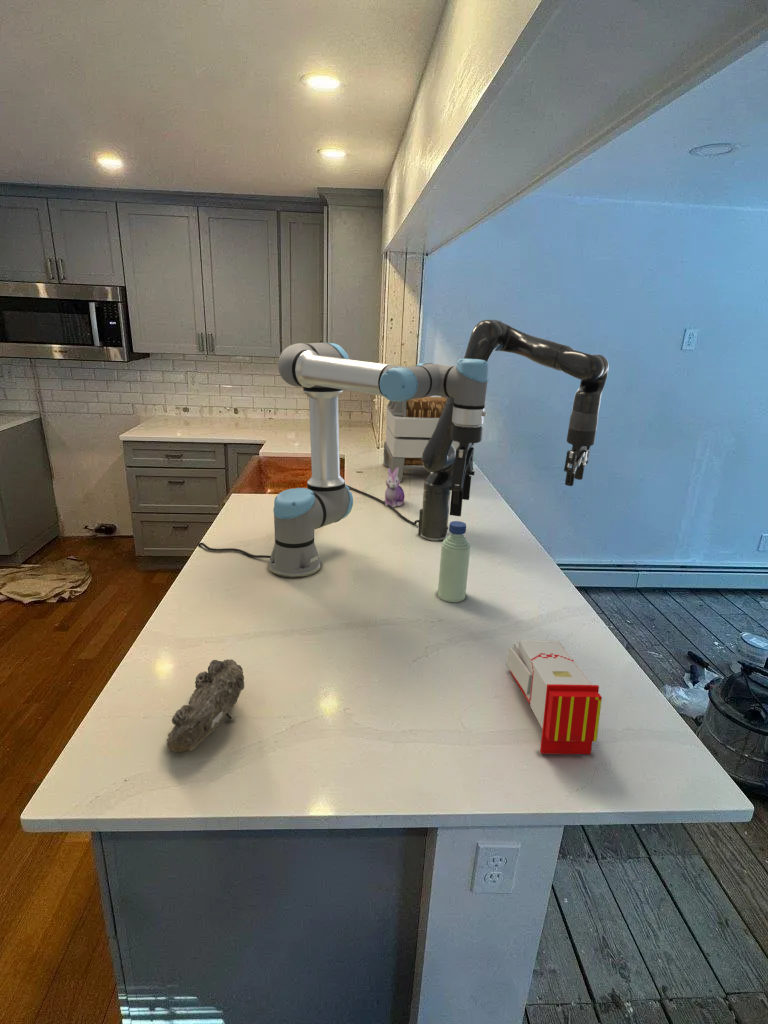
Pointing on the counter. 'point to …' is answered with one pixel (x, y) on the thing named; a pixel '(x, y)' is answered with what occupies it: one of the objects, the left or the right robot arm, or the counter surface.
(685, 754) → the counter surface
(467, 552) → the bottle
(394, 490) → the figurine
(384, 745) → the counter surface
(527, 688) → the toy
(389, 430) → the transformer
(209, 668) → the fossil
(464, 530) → the cap
